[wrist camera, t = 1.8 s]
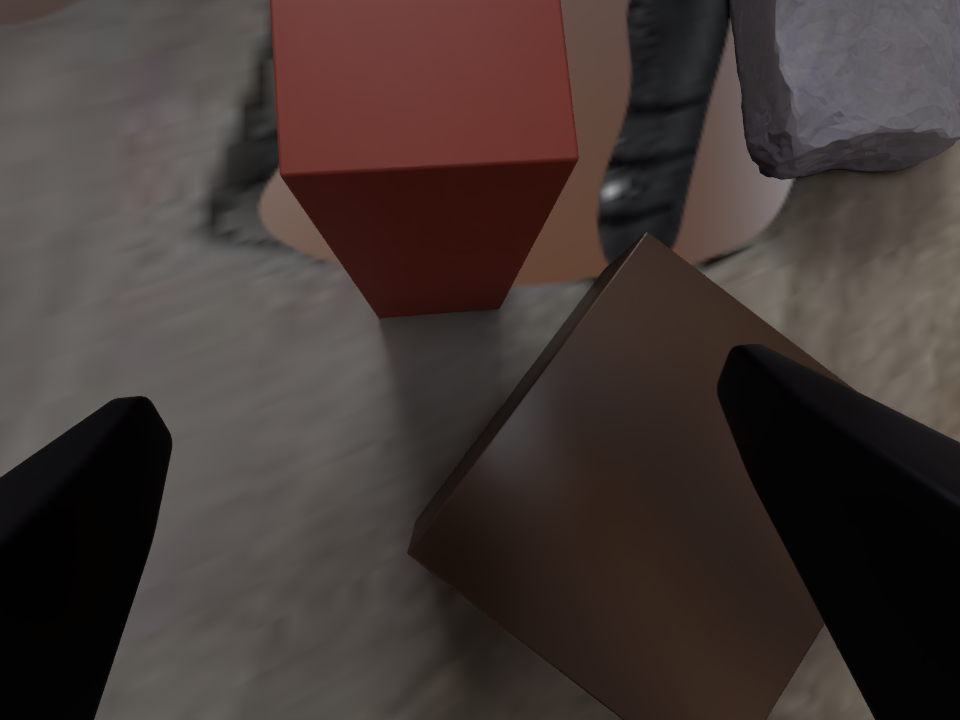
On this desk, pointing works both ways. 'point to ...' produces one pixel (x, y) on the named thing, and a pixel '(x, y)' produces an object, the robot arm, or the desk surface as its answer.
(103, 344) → the desk surface
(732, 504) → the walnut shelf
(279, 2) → the pillar block
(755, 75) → the stone block
